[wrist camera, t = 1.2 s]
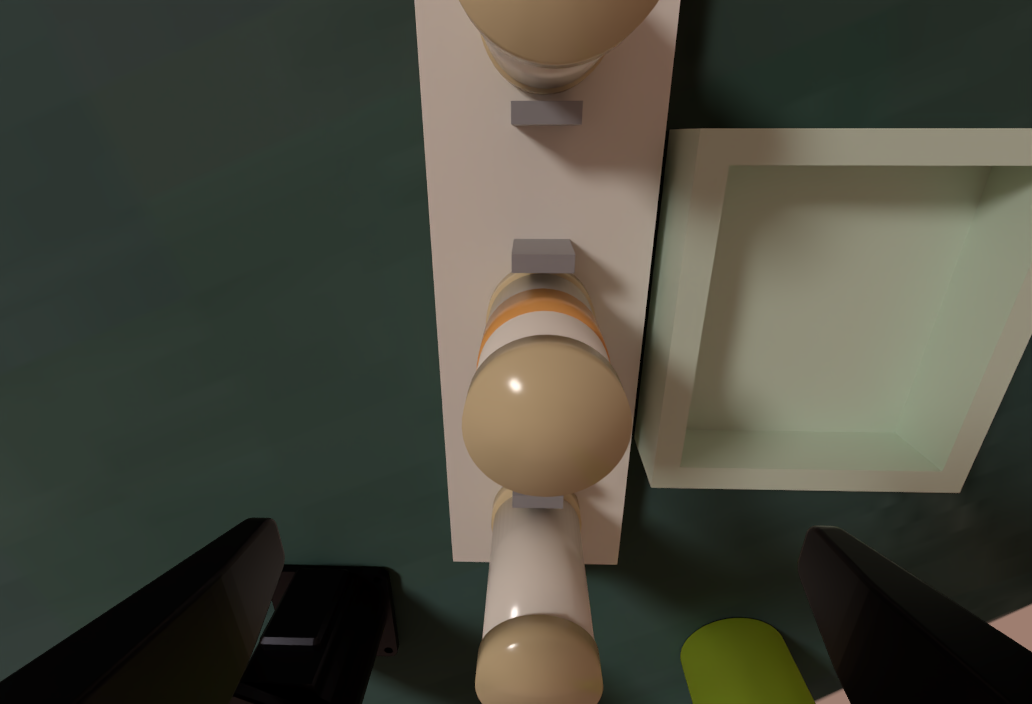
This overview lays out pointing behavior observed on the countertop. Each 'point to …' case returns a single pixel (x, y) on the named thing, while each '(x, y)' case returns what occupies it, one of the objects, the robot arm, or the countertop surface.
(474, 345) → the fuse holder
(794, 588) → the countertop surface
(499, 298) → the fuse marked
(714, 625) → the soap dispenser
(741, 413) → the tray
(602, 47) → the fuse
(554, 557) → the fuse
